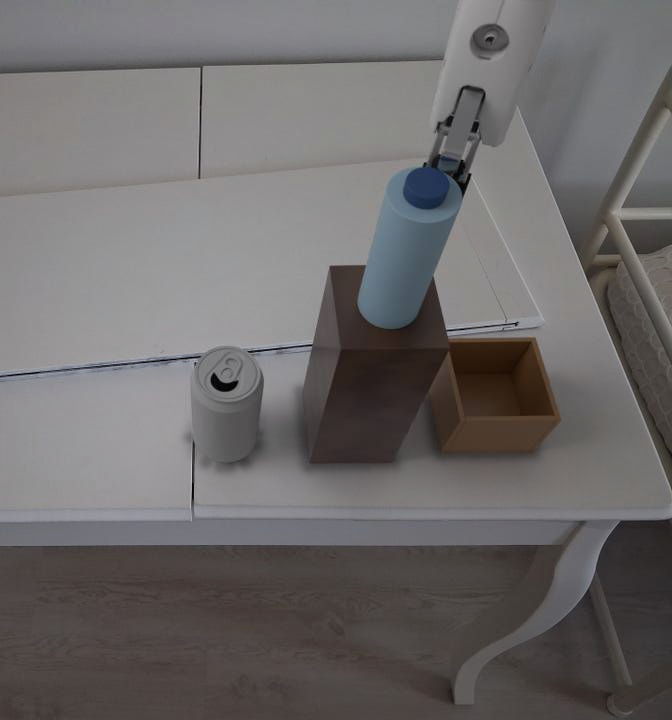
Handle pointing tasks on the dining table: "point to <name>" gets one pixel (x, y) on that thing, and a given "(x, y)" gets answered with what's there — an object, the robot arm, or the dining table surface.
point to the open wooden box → (493, 396)
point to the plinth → (367, 374)
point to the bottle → (407, 245)
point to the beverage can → (226, 403)
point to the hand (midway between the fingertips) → (447, 168)
